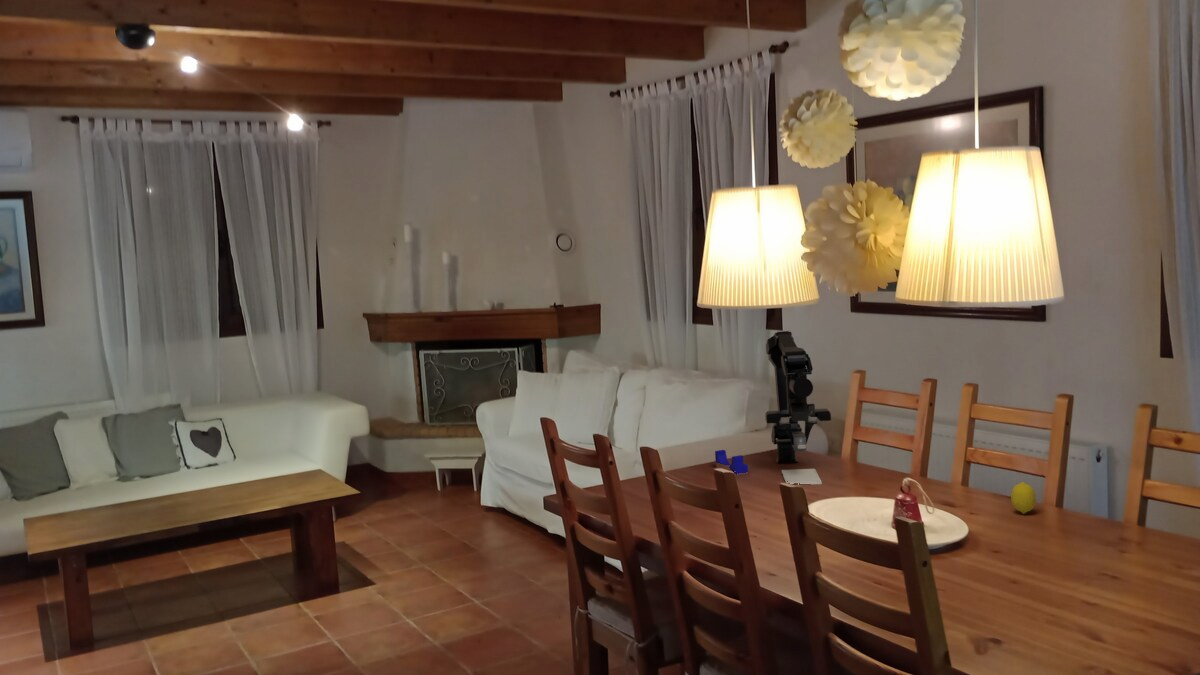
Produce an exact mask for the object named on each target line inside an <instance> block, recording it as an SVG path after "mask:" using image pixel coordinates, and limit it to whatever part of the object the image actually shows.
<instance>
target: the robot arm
mask: <svg viewBox="0 0 1200 675" xmlns="http://www.w3.org/2000/svg"><path fill="white" fill-rule="evenodd" d="M765 343H766V344H765V351H766V355H768V361H769V363H771V365H772V366H773V368H774V376H775V377H774V378H775V380H774V381H775V391H776V399H777V400H776V403H777V405H776V406H777V410H768V411H766V412H765V422H766V424H773V425H772V429H771V443H773V445H776V447H777V450H776V451H777V452H776V453H777V457H776V458H775V460H776V463H777V464H797V463H799V460H798V458H797V454H796V451H795V450H794V449H793V447H792V445H793V436H792V432H803V430H802V428H801V425H800V423H799V422H804V434H805V436H806V445H808V444H807V443H808V440H809V437H810V435H811V431H812V428H813V427H814V425H817V424H818V421H817V420H819V421H820V422H829V421H832V414H831V411H830V410H829V409H828V408H816V407H815V403H808V400H807V398H809V397H810V396H811V394H812V393H813V391H814V385H813V382H812V381H811V380H810V379H808V375H812V373H813V372H812V371H813V370H814V368H813V364H812V360H811V357H810V355H809V354H808V353H807V352H806V350H805V349H804V348H802V347H799V346H797V344H796V342H795V339H794V337H793V334H792V331H789V330H785V331H783V330H782V331H776V332H774V334H773V335H772V336H771V337H769V338H767V340H766V342H765Z"/></svg>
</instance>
